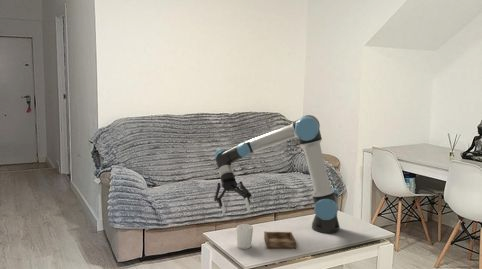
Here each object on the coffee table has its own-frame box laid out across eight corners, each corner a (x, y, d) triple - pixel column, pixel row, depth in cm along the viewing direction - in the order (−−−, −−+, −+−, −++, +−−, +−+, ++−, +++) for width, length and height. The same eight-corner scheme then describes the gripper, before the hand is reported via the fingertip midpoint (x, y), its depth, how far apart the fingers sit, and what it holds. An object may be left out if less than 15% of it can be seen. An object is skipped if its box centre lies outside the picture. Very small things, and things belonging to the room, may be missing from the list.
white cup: (239, 250, 207) (240, 230, 206) (233, 244, 214) (234, 224, 213) (254, 248, 210) (255, 228, 209) (248, 242, 217) (248, 223, 216)
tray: (291, 238, 225) (291, 232, 224) (295, 249, 211) (296, 242, 210) (264, 238, 224) (264, 231, 223) (267, 248, 210) (267, 241, 210)
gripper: (246, 177, 239) (256, 212, 227) (202, 180, 229) (211, 216, 218) (250, 170, 234) (261, 205, 222) (206, 172, 224) (215, 209, 212)
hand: (236, 211), depth 220 cm, fingers open, 13 cm apart
